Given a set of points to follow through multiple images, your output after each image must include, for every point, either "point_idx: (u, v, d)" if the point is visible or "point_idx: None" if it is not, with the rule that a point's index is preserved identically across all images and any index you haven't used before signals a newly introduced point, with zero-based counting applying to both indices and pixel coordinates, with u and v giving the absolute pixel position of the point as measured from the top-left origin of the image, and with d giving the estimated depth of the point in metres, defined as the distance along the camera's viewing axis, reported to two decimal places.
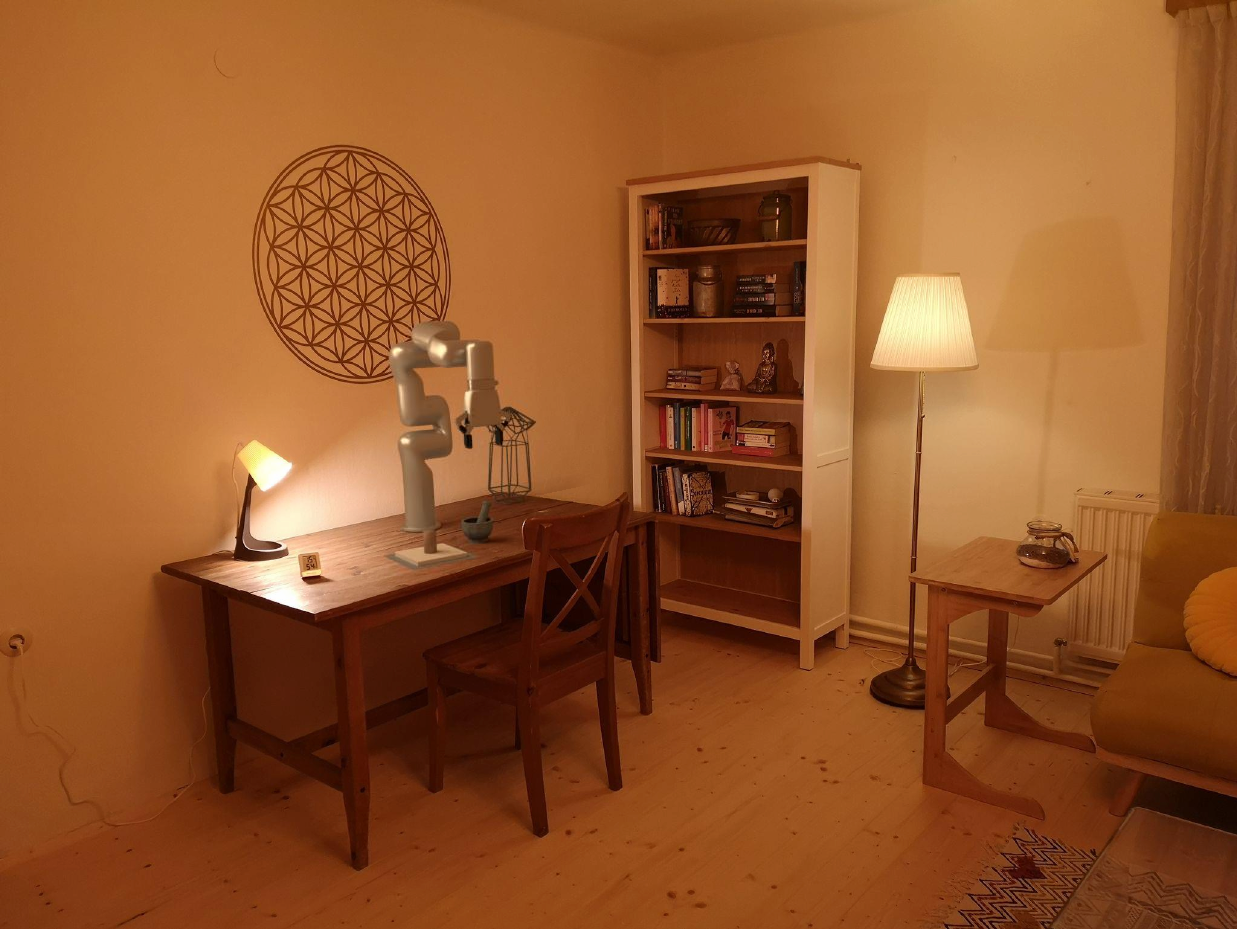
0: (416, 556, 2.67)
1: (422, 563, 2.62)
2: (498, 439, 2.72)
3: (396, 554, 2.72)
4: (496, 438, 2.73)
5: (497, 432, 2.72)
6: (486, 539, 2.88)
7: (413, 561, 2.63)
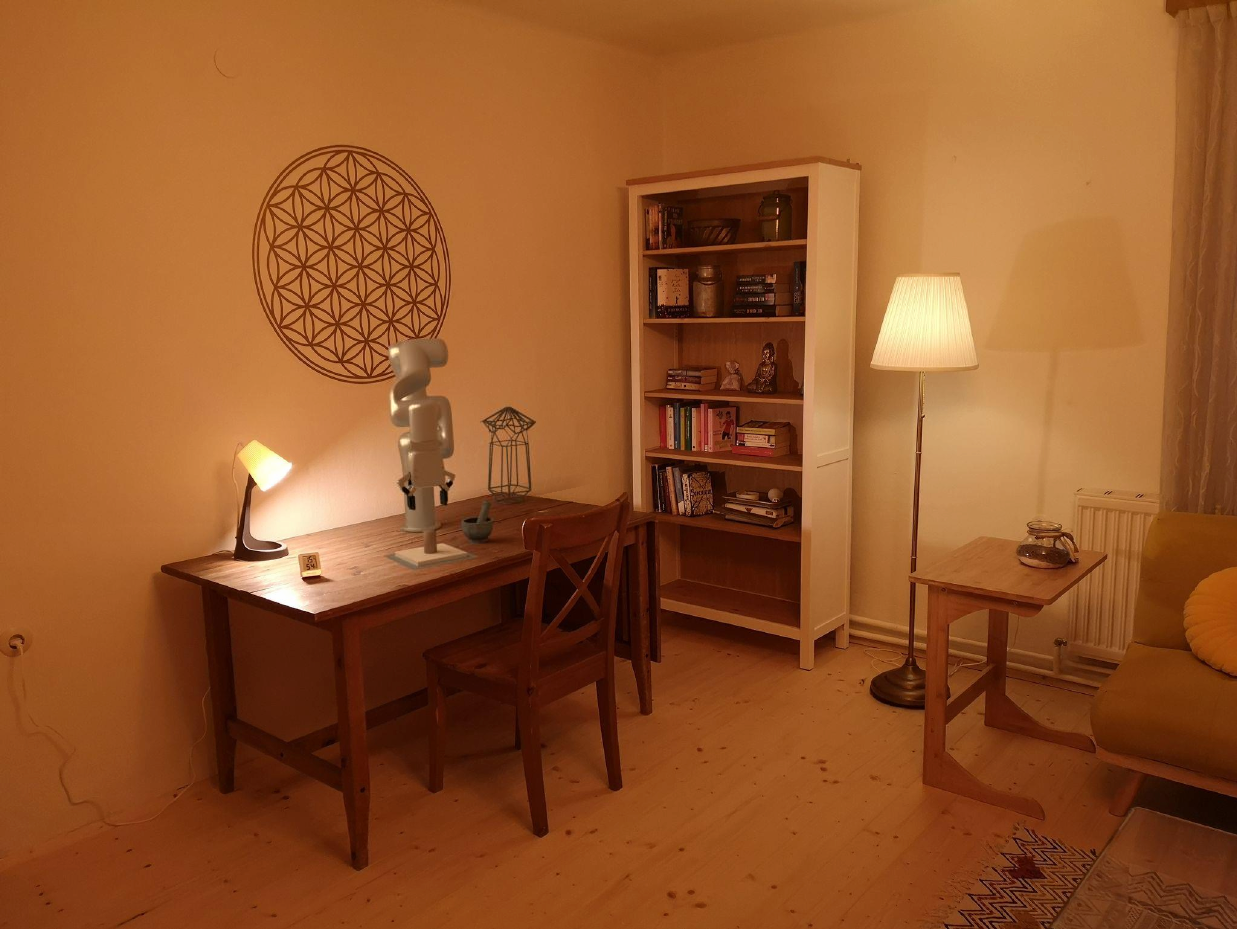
0: (416, 556, 2.67)
1: (422, 563, 2.62)
2: (442, 499, 2.71)
3: (396, 554, 2.72)
4: (441, 498, 2.72)
5: (442, 492, 2.71)
6: (486, 539, 2.88)
7: (413, 561, 2.63)
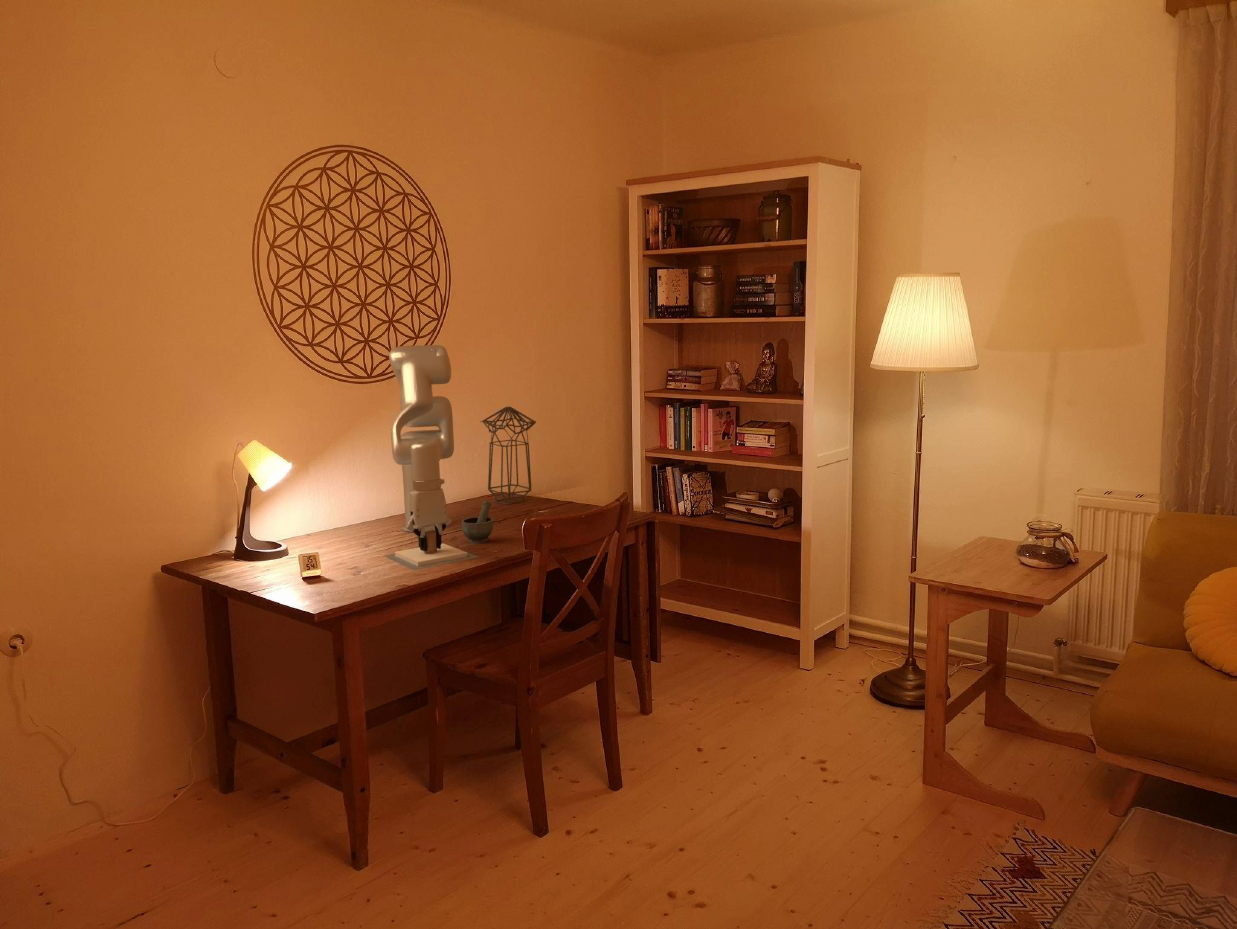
0: (416, 556, 2.67)
1: (422, 563, 2.62)
2: None
3: (396, 554, 2.72)
4: None
5: None
6: (486, 539, 2.88)
7: (413, 561, 2.63)
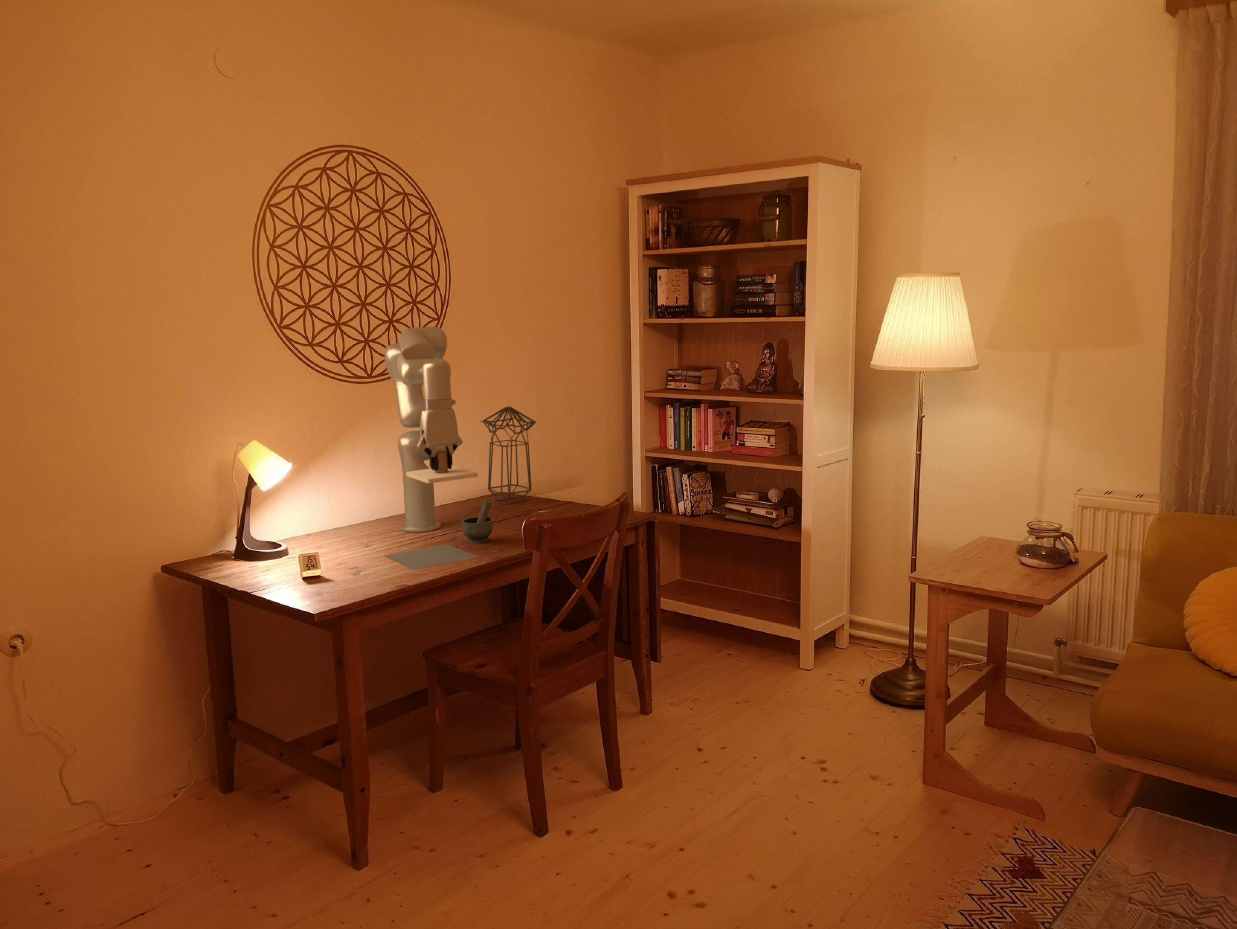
0: (427, 475, 2.69)
1: (432, 481, 2.64)
2: None
3: (407, 474, 2.74)
4: None
5: None
6: (486, 539, 2.88)
7: (424, 479, 2.65)
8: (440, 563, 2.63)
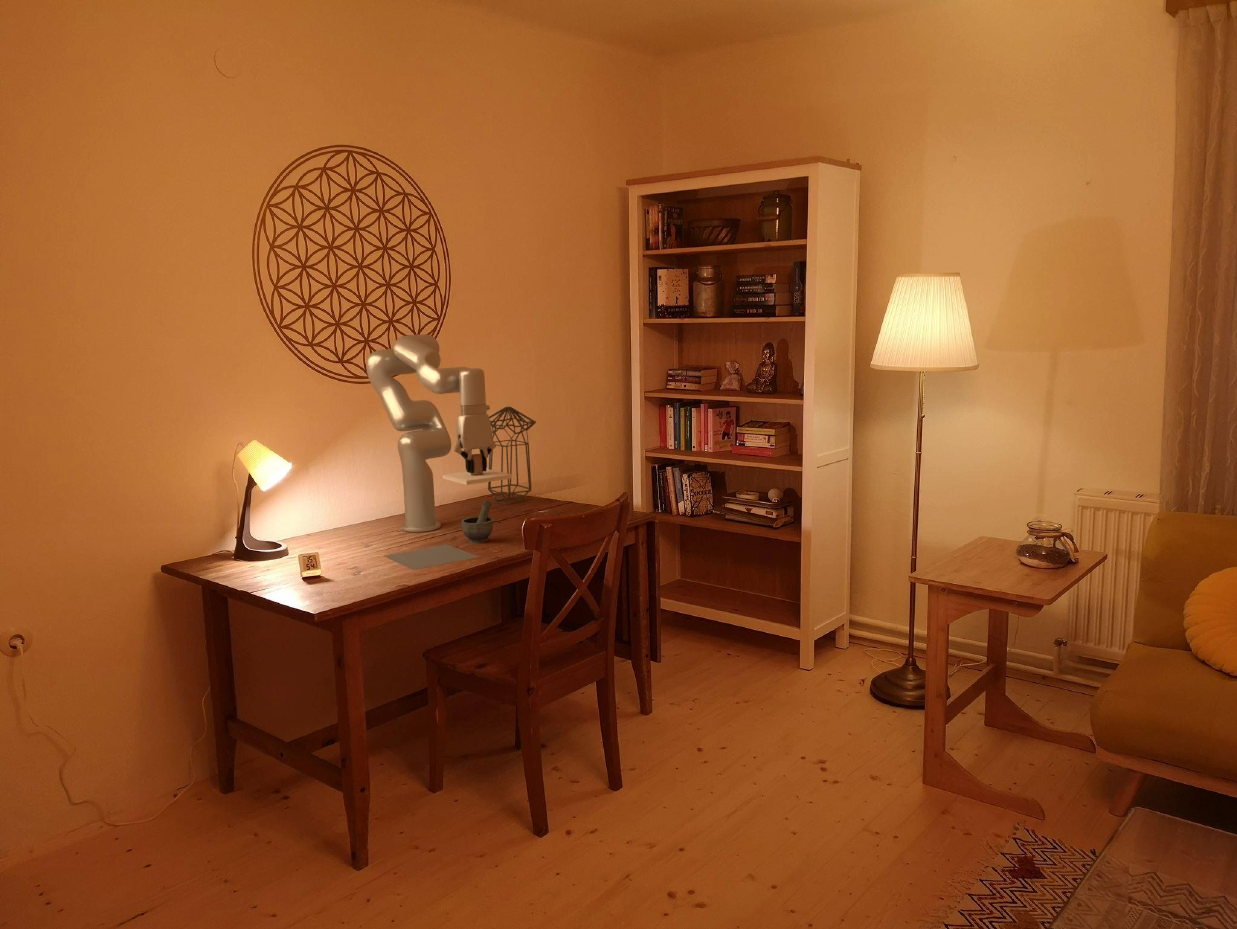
0: (464, 477, 2.82)
1: (470, 482, 2.77)
2: None
3: (444, 477, 2.87)
4: None
5: None
6: (486, 539, 2.88)
7: (461, 481, 2.78)
8: (440, 563, 2.63)
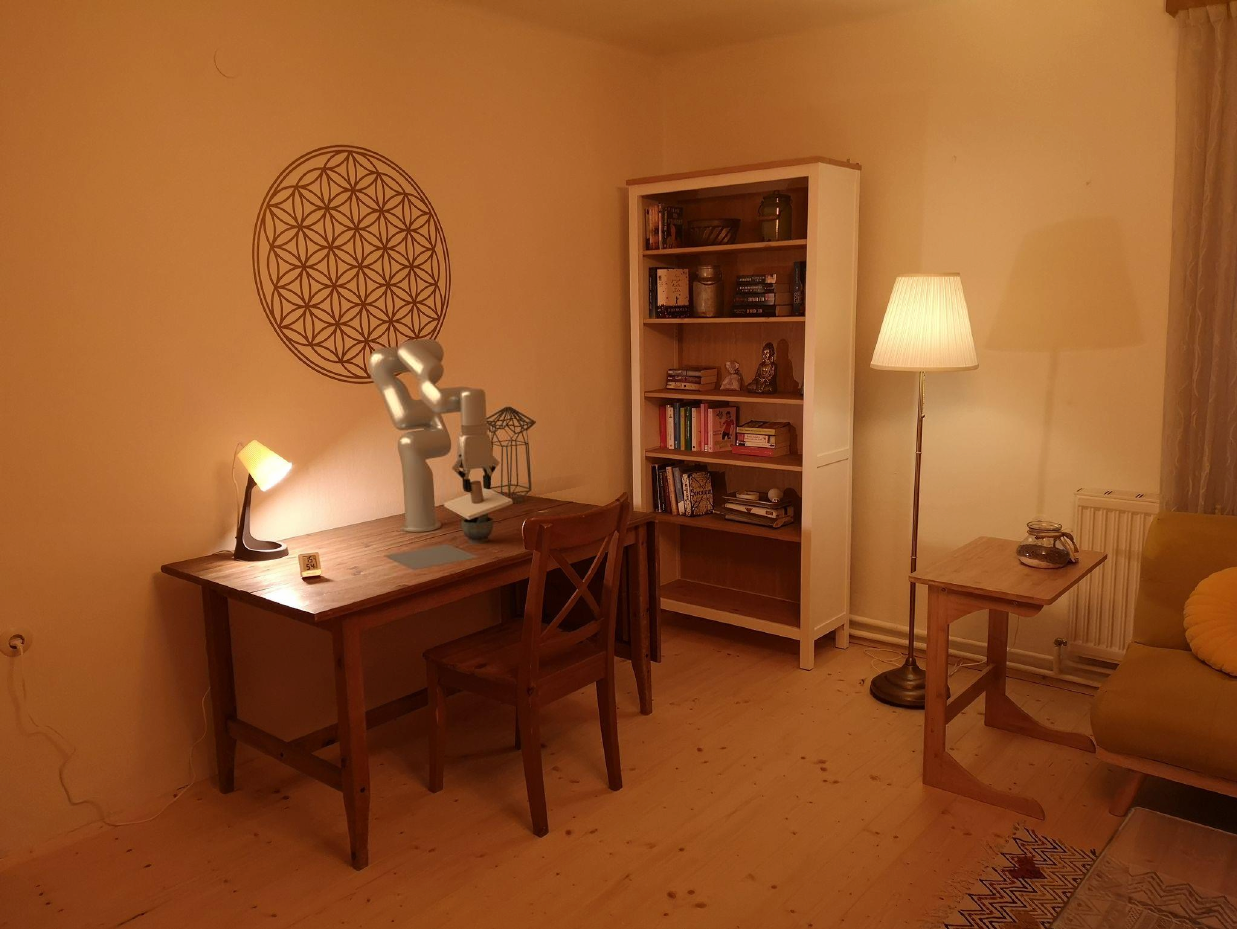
0: (465, 508, 2.83)
1: (472, 516, 2.79)
2: (486, 483, 2.88)
3: (445, 505, 2.89)
4: (484, 482, 2.89)
5: (485, 477, 2.88)
6: (486, 539, 2.88)
7: (463, 514, 2.80)
8: (440, 563, 2.63)
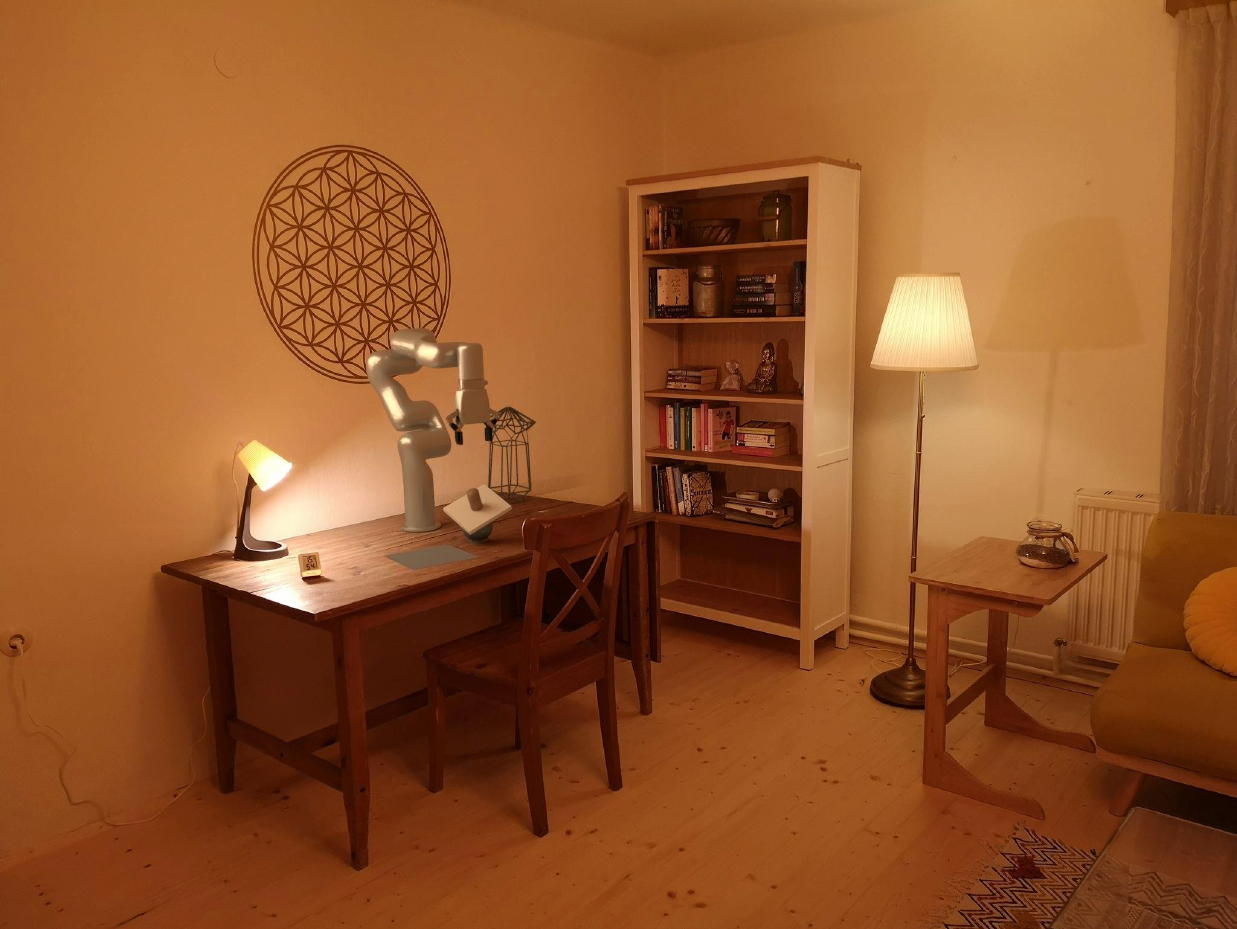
0: (465, 518, 2.83)
1: (473, 531, 2.80)
2: (487, 435, 2.87)
3: (445, 511, 2.88)
4: (486, 435, 2.88)
5: (486, 429, 2.87)
6: (486, 539, 2.88)
7: (464, 528, 2.81)
8: (440, 563, 2.63)
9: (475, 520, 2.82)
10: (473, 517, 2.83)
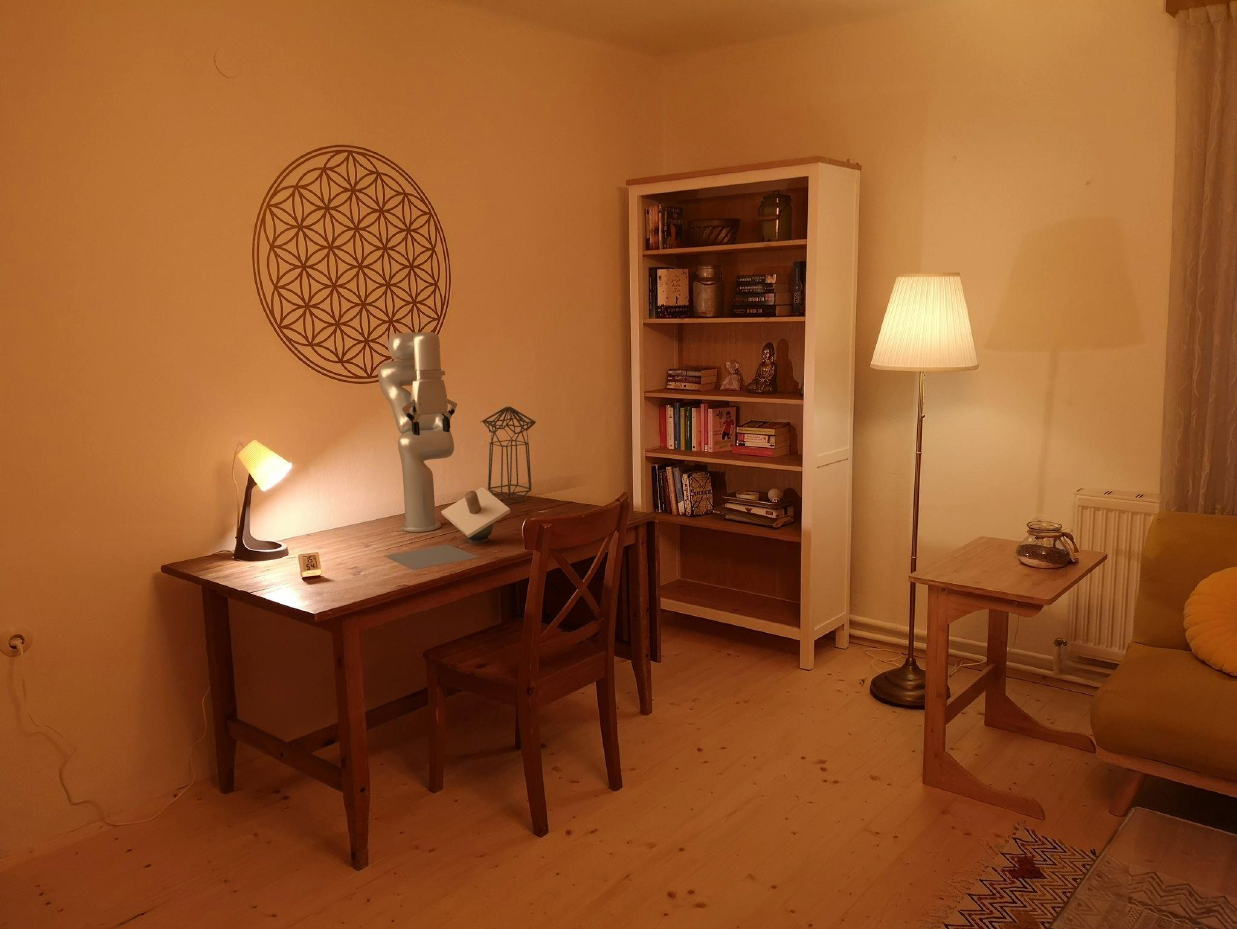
0: (463, 521, 2.82)
1: (472, 534, 2.79)
2: (445, 426, 2.87)
3: (443, 514, 2.87)
4: (443, 425, 2.88)
5: (444, 420, 2.87)
6: (486, 539, 2.88)
7: (463, 531, 2.80)
8: (440, 563, 2.63)
9: (474, 523, 2.81)
10: (472, 520, 2.82)
